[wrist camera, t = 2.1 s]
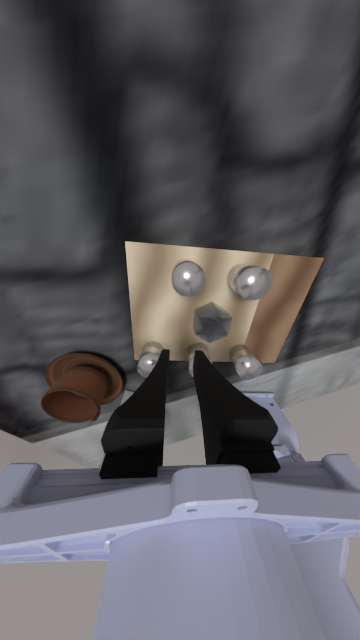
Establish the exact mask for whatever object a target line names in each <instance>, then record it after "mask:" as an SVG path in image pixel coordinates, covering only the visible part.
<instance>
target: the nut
mask: <svg viewBox="0 0 360 640" xmlns="http://www.w3.org/2000/svg"><path fill="white" fill-rule="evenodd" d="M231 322H232V317H231V316H230V315H229V314H228V313H227V311H225V310H224V309H223V308H221V307H220V306H218V305H217V304H215V303H214V302H210V303H208V304H206V305H203V306H201V307H199V308H197V309H195V312H194V319H193V329H194V333H195V335H197V336H198V337H200V338H202V339H204V340H205V341H207V342H209V343H212V342H214V341H216V340H219V339H221V338H224V337H226V336H228V334H229V330H230V326H231Z"/></svg>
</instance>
